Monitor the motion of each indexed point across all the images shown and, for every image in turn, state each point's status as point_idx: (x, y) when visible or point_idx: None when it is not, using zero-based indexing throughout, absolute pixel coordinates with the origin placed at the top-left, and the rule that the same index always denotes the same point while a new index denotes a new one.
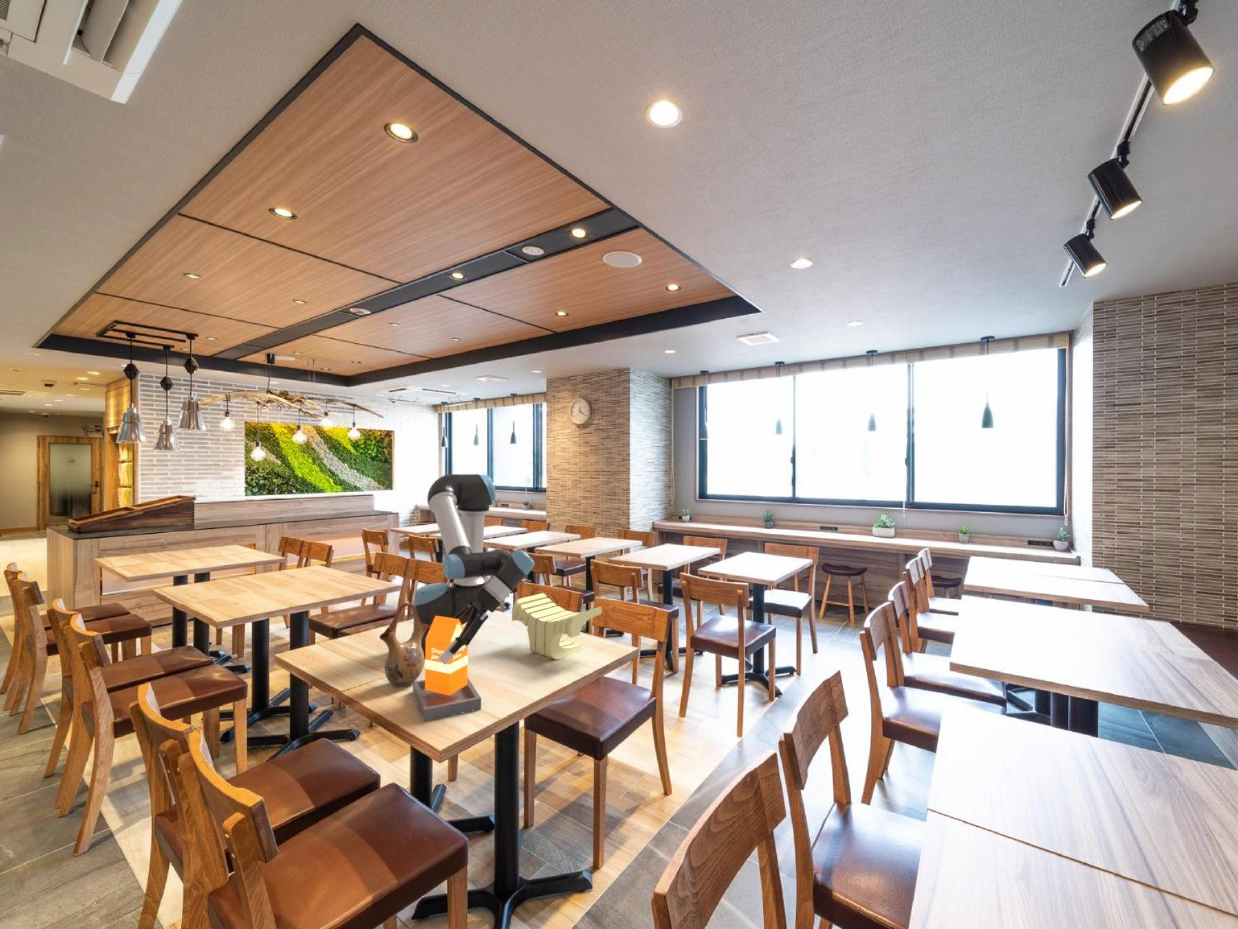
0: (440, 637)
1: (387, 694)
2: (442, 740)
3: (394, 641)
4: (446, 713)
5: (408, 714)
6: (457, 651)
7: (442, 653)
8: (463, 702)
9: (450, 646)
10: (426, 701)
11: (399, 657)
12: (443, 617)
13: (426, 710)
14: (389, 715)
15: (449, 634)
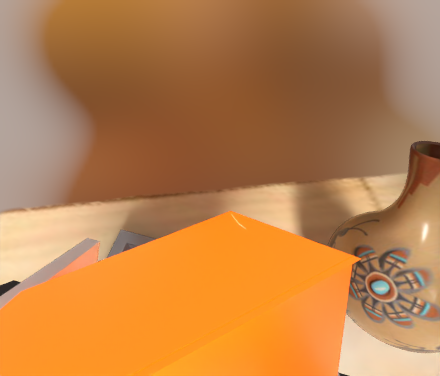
0: (124, 260)
1: (306, 233)
2: (23, 232)
3: (416, 195)
4: None
5: (183, 228)
6: None
7: (75, 256)
8: None
9: (12, 291)
10: None
11: (364, 231)
12: (209, 334)
13: (118, 235)
14: (206, 201)
15: (27, 311)
